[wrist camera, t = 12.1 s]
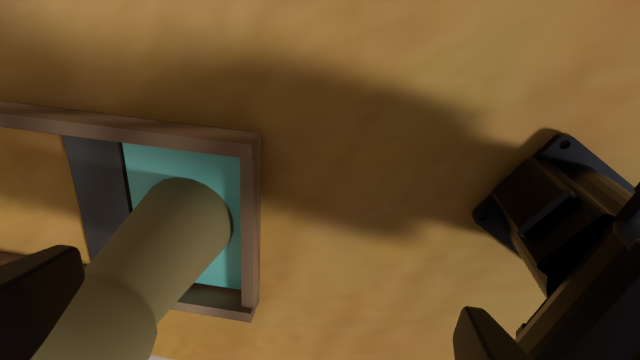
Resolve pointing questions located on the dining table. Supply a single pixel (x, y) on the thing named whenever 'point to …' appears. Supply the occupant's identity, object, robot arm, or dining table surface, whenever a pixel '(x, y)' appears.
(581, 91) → the dining table surface
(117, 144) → the channel
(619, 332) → the robot arm
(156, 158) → the pad
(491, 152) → the dining table surface
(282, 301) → the dining table surface
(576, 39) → the dining table surface
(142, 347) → the cork
